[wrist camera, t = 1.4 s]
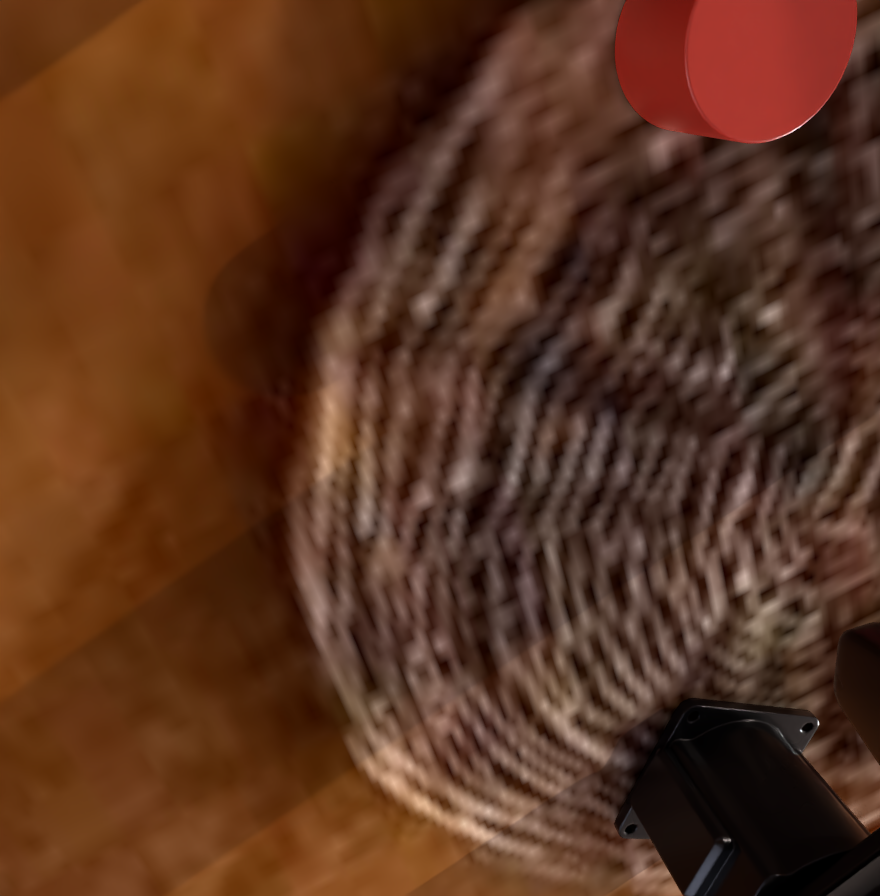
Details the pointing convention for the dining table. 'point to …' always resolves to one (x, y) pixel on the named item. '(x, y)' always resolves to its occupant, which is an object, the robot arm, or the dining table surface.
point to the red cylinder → (733, 63)
